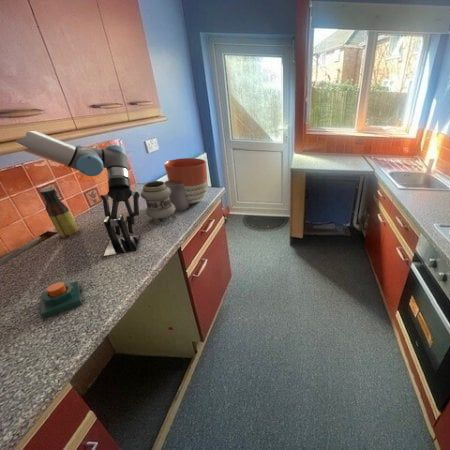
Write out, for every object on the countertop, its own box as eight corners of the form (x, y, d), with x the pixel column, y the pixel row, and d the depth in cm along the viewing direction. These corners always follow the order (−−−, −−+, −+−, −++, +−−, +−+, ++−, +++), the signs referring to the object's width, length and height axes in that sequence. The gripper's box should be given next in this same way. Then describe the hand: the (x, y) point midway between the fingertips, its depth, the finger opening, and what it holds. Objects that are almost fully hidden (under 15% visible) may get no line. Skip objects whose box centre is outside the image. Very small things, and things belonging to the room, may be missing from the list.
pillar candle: (172, 204, 132) (166, 176, 125) (191, 204, 133) (186, 176, 126) (166, 212, 123) (159, 182, 116) (187, 211, 125) (182, 182, 118)
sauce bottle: (83, 231, 105) (63, 186, 95) (76, 238, 100) (55, 191, 90) (64, 232, 103) (42, 187, 93) (56, 240, 98) (32, 193, 88)
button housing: (44, 298, 72) (38, 287, 70) (80, 286, 76) (75, 276, 74) (44, 320, 65) (37, 309, 63) (82, 305, 70) (77, 294, 68)
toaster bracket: (111, 242, 98) (100, 213, 92) (140, 238, 102) (131, 209, 96) (104, 259, 88) (91, 228, 82) (137, 253, 92) (127, 223, 86)
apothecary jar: (142, 224, 112) (131, 186, 103) (162, 213, 122) (153, 178, 113) (165, 228, 109) (155, 190, 100) (183, 217, 119) (175, 181, 111)
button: (49, 291, 69) (46, 285, 68) (66, 286, 71) (63, 280, 70) (49, 299, 67) (46, 293, 66) (67, 293, 69) (63, 287, 68)
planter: (196, 211, 125) (189, 169, 115) (164, 205, 130) (154, 164, 120) (217, 198, 142) (213, 160, 132) (188, 193, 146) (182, 156, 136)
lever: (119, 224, 101) (117, 215, 100) (130, 222, 102) (128, 214, 102) (108, 228, 88) (106, 218, 88) (120, 227, 90) (118, 217, 89)
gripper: (144, 182, 111) (150, 232, 105) (98, 186, 104) (102, 239, 99) (139, 174, 104) (146, 227, 98) (90, 178, 98) (94, 234, 92)
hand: (124, 233), depth 99 cm, fingers closed on lever, 4 cm apart
